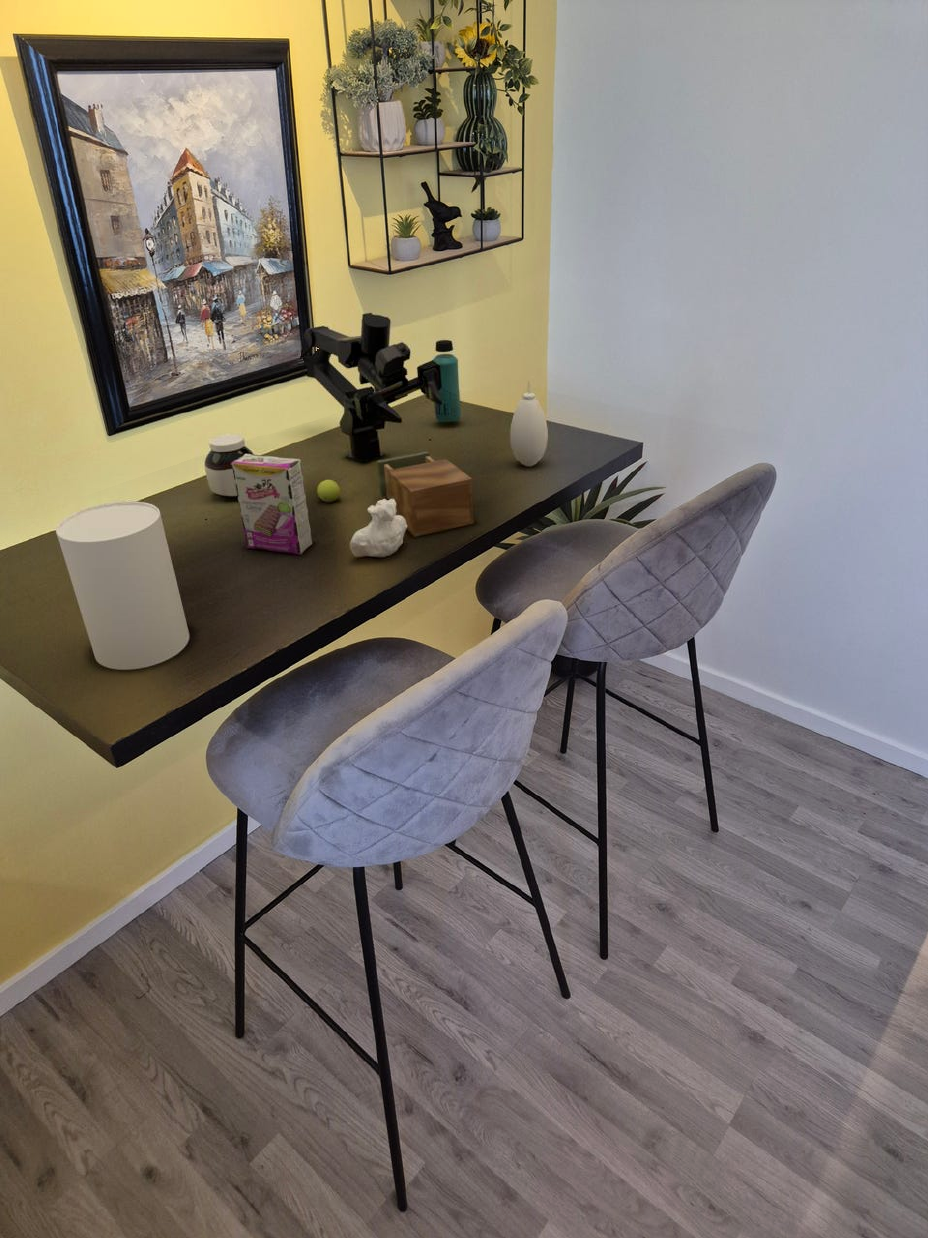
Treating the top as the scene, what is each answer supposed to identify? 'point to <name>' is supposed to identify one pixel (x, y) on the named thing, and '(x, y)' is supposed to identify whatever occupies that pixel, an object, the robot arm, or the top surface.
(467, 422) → the top surface
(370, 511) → the white lumpy figure
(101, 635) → the canister
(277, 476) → the candy bar box
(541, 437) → the white air blower bulb
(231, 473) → the spread jar
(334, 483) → the ball
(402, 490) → the cabinet
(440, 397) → the robot arm
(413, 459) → the drawer
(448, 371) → the beverage bottle
